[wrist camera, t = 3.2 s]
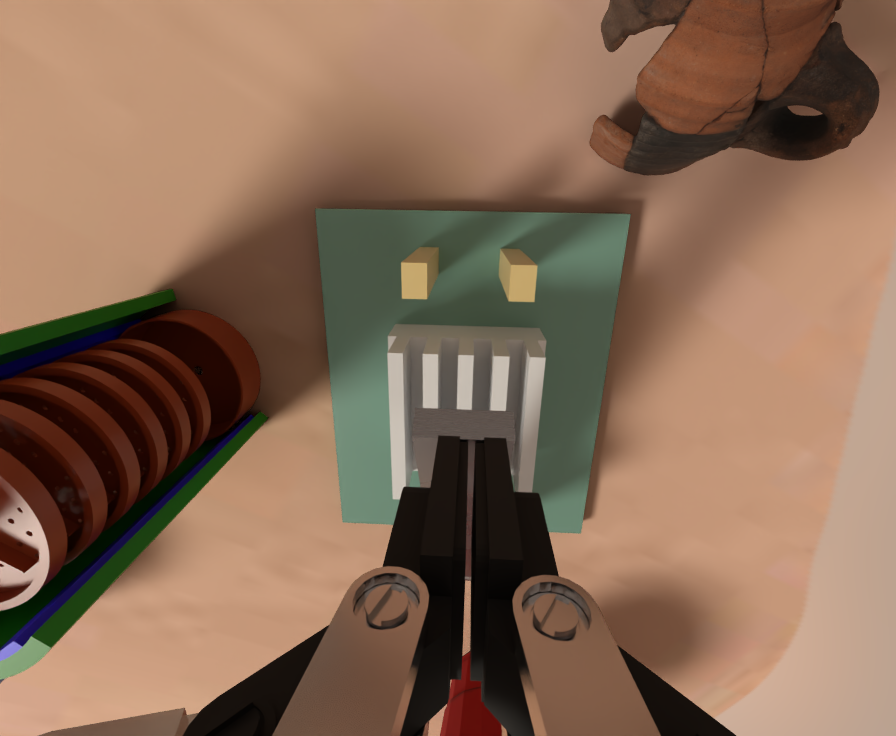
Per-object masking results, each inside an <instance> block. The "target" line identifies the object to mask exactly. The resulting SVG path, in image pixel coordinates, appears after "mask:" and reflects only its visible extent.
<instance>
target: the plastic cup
mask: <svg viewBox="0 0 896 736" xmlns="http://www.w3.org/2000/svg"><path fill="white" fill-rule="evenodd" d="M501 725H502V724H501V723H500V722H499V721H498V720H497V719H496V718H495V717H494V715H493V714H492V713H491V712H490V711H489V710H488V709H487V708H486V707H485V705H484V702H481V681H470V652H469V653H467V654H466V655H464V656H463V657H462V675H461V680H454V679H452V682H451V687H450V696H449V699H448V703H447V707H446V709H445V712H444V717H443V723H442V728H441V733H440V736H502V727H501Z"/></svg>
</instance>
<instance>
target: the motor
mask: <svg viewBox="0 0 896 736" xmlns="http://www.w3.org/2000/svg"><path fill="white" fill-rule="evenodd" d="M175 300H176V297H175V294H174V291H173V289H169V290H164V291H160V292H156V293H152V294H148V295H145V296H141V297H137V298H133V299H130V300H126V301H122V302H118V303H115V304H111V305H107V306H103V307H100V308H96V309H92V310H88V311H85V312H81V313H77V314H73V315H70V316H66V317H62V318H58V319H55V320H51V321H47V322H43V323H40V324H36V325H32V326H28V327H25V328H21V329H17V330H13V331H10V332H6V333H2V334H0V680H1V679H5V678H8V677H11V676H14V675H16V674H18V673H21V672H23V671H25V670H26V669H28V668H30V667H31V666H33V665H34V664H36V663H37V662H38V661H39V660H41V659H42V658H43V657H44V656H45V655H46V654H47V653H48V652H49V650H50V649H51V648H52V647H53V646H54V645H55V644H56V643H57V642H58V641H59V640H60V639H61V638H62V637H63V636H64V635H65V633H66V632H67V631H68V630H69V629H70V628H71V627H72V626H73V625H74V624H75V623H76V622H77V621H78V620H79V619H80V618H81V617H82V615H83V614H84V613H85V612H86V611H87V610H88V609H89V608H90V607H91V606H92V605H93V604H94V603H95V602H96V601H97V600H98V599H99V597H100V596H101V595H102V594H103V593H104V592H105V591H106V590H107V589H108V588H109V587H110V586H111V585H112V584H113V583H114V582H115V580H116V579H117V578H118V577H119V576H120V575H121V574H122V573H123V572H124V571H125V570H126V569H127V568H128V567H129V566H130V565H131V564H132V562H133V561H134V560H135V559H136V558H137V557H138V556H139V555H140V554H141V553H142V552H143V551H144V550H145V549H146V548H147V547H148V546H149V544H150V543H151V542H152V541H153V540H154V539H155V538H156V537H157V536H158V535H159V534H160V533H161V532H162V531H163V530H164V529H165V528H166V526H167V525H168V524H169V523H170V522H171V521H172V520H173V519H174V518H175V517H176V516H177V515H178V514H179V513H180V512H181V511H182V509H183V508H184V507H185V506H186V505H187V504H188V503H189V502H190V501H191V500H192V499H193V498H194V497H195V496H196V495H197V494H198V493H199V491H200V490H201V489H202V488H203V487H204V486H205V485H206V484H207V483H208V482H209V481H210V480H211V479H212V478H213V477H214V476H215V475H216V473H217V472H218V471H219V470H220V469H221V468H222V467H223V466H224V465H225V464H226V463H227V462H228V461H229V460H230V459H231V458H232V456H233V455H234V454H235V453H236V452H237V451H238V450H239V449H240V448H241V447H242V446H243V445H244V444H245V443H246V442H247V441H248V440H249V438H250V437H251V436H252V435H253V434H254V433H255V432H256V431H257V430H258V429H259V428H260V427H261V426H262V425H263V424H264V423H265V422H266V420H267V419H268V417H267V416H266V415H264V414H263V413H262V412H261V411H260V412H259V413H258V414H257V415H256V416H255V417H253V416H252V415H250V416H248V417H247V418H246V419H244V420H243V421H242V422H240V423H239V424H238V425H237V426H236V427H235V428H233V429H232V430H231V431H228V432H226V431H227V430H228V429H229V428H230V427H231V426H233V425H234V424H235V423H236V422H237V421H238V420H239V419H240V418H241V417H242V416H243V415H244V414H246V413H247V412H248V411H249V410H250V408H251V407H252V406H253V404H254V403H255V401H256V399H257V396H258V393H259V390H260V379H261V378H260V369H259V365H258V361H257V359H256V356H255V354H254V352H253V350H252V348H251V347H250V345H249V344H248V342H247V341H246V340H245V338H244V337H243V336H242V335H241V334H240V333H239V332H238V331H237V330H236V329H235V328H234V327H232V326H231V325H230V324H228V323H227V322H225V321H224V320H222V319H220V318H218V317H216V316H214V315H212V314H209V313H206V312H202V311H197V310H175V311H171V312H168V313H165V314H162V315H159V316H156V317H153V318H150V319H147V320H144V321H142V320H141V319H140V318H141V317H142V316H143V315H144V314H145V313H146V312H147V311H149V310H150V309H151V308H153V307H156V306H159V305H162V304H165V303H169V302H172V301H175ZM196 366H199V367H201V368H202V370H203V374H201V375H199V374H197V373H196V372H195V370H194V369H195V367H196Z"/></svg>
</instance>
